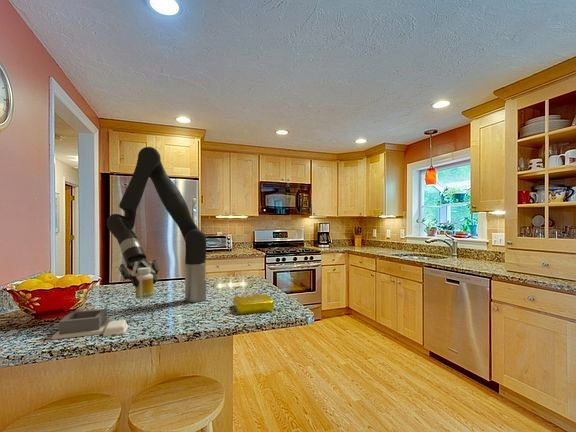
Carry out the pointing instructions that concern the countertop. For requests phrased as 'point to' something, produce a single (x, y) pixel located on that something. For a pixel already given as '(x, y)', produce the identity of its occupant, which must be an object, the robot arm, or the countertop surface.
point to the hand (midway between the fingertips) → (146, 284)
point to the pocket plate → (82, 324)
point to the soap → (116, 328)
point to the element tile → (253, 303)
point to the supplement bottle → (144, 283)
